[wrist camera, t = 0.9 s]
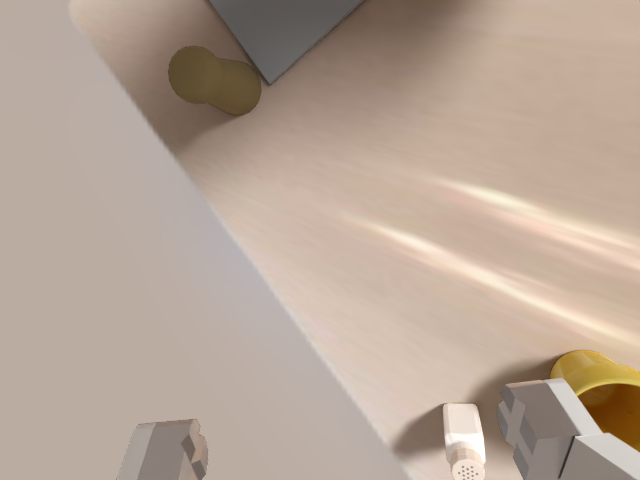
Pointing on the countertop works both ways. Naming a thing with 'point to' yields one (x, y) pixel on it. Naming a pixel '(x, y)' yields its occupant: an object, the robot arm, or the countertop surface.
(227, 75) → the olive chess pawn
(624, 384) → the plant pot
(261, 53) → the plate
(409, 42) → the countertop surface
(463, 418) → the salt shaker
